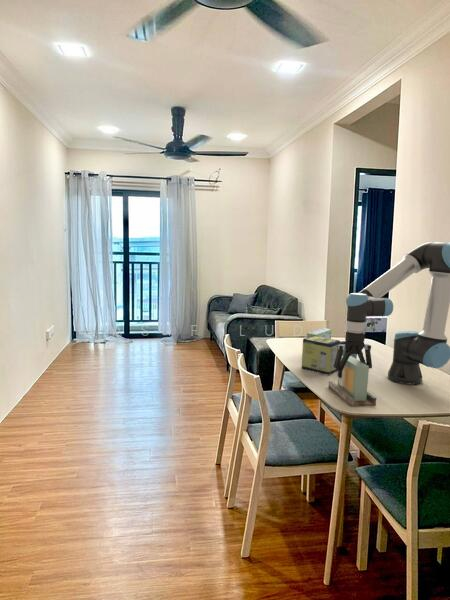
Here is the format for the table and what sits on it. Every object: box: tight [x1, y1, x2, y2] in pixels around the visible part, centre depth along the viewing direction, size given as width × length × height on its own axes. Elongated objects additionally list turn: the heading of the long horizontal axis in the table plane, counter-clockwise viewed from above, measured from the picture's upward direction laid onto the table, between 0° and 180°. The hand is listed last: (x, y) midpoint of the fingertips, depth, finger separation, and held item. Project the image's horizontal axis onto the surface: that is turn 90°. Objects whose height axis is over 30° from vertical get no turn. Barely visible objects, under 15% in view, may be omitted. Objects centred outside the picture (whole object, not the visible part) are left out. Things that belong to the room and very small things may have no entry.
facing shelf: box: [328, 380, 377, 407], centre depth 179 cm, size 11×22×3 cm, turn 9°
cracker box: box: [337, 356, 370, 401], centre depth 178 cm, size 16×5×14 cm, turn 9°
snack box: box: [306, 327, 333, 339], centre depth 238 cm, size 21×6×15 cm, turn 143°
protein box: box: [301, 336, 341, 376], centre depth 215 cm, size 10×16×16 cm
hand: (351, 384), depth 179 cm, fingers open, 8 cm apart
